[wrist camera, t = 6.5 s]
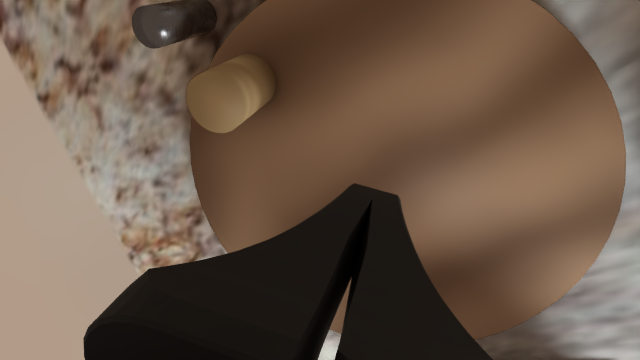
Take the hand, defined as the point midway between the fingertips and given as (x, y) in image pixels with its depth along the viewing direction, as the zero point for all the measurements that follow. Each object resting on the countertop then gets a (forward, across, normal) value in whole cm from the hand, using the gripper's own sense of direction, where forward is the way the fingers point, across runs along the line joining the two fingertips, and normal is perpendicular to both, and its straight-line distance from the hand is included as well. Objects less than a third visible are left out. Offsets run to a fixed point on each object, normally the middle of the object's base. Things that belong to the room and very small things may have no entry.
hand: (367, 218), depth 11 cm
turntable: (+9, 0, +4) cm, 10 cm away
